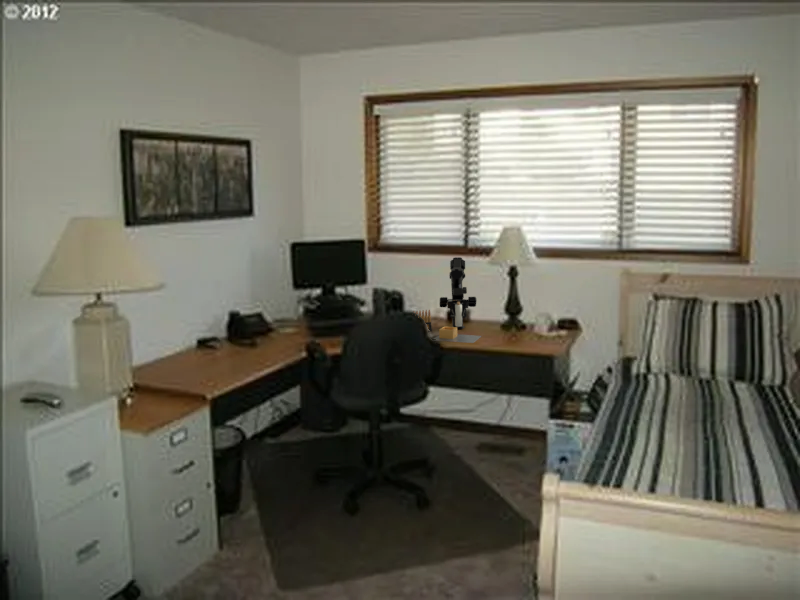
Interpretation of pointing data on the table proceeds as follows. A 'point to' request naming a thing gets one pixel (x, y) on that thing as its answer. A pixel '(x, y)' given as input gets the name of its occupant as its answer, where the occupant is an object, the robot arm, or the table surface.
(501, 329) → the table surface
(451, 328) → the plate
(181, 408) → the table surface
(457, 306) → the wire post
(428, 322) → the ammunition clip
